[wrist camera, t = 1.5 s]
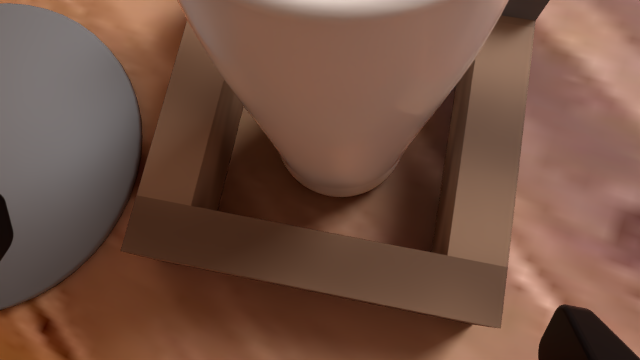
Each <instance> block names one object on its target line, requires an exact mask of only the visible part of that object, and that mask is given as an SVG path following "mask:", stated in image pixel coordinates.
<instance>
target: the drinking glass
mask: <svg viewBox="0 0 640 360" xmlns="http://www.w3.org/2000/svg"><path fill="white" fill-rule="evenodd" d="M177 1H178V3H179V5H180V7H181V9H182V11H183V13H184V15H185V17H186V19H187V21H188V23H189V24H190V26H191V28H192V30H193V32H194V33H195V35H196V37H197V39H198V40H199V42H200V44H201V45H202V47H203V49H204V50H205V52H206V54H207V55H208V57H209V58H210V60H211V62H212V63H213V65H214V66H215V68H216V69H217V71H218V72H219V74H220V75H221V77H222V78H223V79H224V81H225V82H226V83H227V85H228V86H229V88H230V89H231V90H232V92H233V93H234V94H235V95H236V97H237V98H238V99H239V101H240V102H241V103H242V105H243V106H244V107H245V109H246V110H247V111H248V112H249V114H250V115H251V116H252V118H253V119H254V120H255V122H256V123H257V124H258V125H259V127H260V128H261V129H262V131H263V132H264V133H265V135H266V136H267V137H268V139H269V140H270V142H271V143H272V144H273V146H274V147H275V148H276V150H277V151H278V153H279V154H280V157H281V159H282V161H283V163H284V165H285V166H286V168H287V170H288V171H289V172H290V174H291V175H292V176H293V177H294V178H295V179H296V180H297V181H298V182H299V183H301V184H302V185H304V186H305V187H307V188H308V189H310V190H312V191H314V192H317V193H319V194H322V195H327V196H332V197H349V196H355V195H359V194H362V193H365V192H367V191H369V190H372V189H373V188H375V187H377V186H378V185H380V184H381V183H382V182H383V181H385V180H386V179H387V178H388V177H389V176H390V174H391V173H392V172H393V171H394V169H395V168H396V166H397V165H398V163H399V161H400V159H401V156H402V154H403V153H404V151H405V150H406V149H407V147H408V146H409V145H410V144H411V142H412V141H413V140H414V138H415V137H416V136H417V135H418V133H419V132H420V131H421V129H422V128H423V127H424V126H425V124H426V123H427V122H428V121H429V119H430V118H431V117H432V116H433V114H434V113H435V112H436V111H437V109H438V108H439V107H440V105H441V104H442V103H443V102H444V100H445V99H446V98H447V97H448V95H449V94H450V93H451V91H452V90H453V89H454V88H455V86H456V85H457V84H458V82H459V81H460V80H461V78H462V77H463V75H464V74H465V73H466V71H467V70H468V68H469V67H470V66H471V64H472V63H473V61H474V60H475V58H476V57H477V55H478V54H479V52H480V51H481V49H482V47H483V46H484V44H485V42H486V41H487V39H488V37H489V36H490V34H491V32H492V31H493V29H494V27H495V25H496V24H497V22H498V20H499V18H500V17H501V15H502V13H503V11H504V9H505V7H506V6H507V4H508V2H509V0H177Z"/></svg>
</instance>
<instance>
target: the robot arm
mask: <svg viewBox="0 0 640 360" xmlns="http://www.w3.org/2000/svg"><path fill="white" fill-rule="evenodd" d="M13 236H14V232H13V227H12V224H11V220H10V216H9V212H8V209H7V205H6V201H5V199H4V197H3V196H2V195H1V194H0V261H1V260H2V258H3V257H4V255H5V254H6V252H7V251H8V249H9V248H10V246H11V244H12V241H13ZM538 359H539V360H640V358H639V357H638V356H637V355H636V354H635V353H634V352H633V351H632V350H631V349H630V348H629V347H628V346H627V345H626V344H625V343H624V342H623V341H622V340H621V339H620V338H619V337H618V336H616V335H615V334H614V333H613V332H612V331H611V330H610V329H609V328H608V327H607V326H606V325H605V324H604V323H603V322H602V321H601V320H600V319H599V318H598V317H597V316H596V315H595V314H594V313H593V312H592V311H590V310H589V309H586V308H581V307H576V306H571V305H561V306H559V307H558V308H557V309H556V311H555V313H554V315H553V317H552V319H551V321H550V323H549V325H548V326H547V328H546V330H545V332H544V334H543V336H542V338H541V341H540V344H539V350H538Z"/></svg>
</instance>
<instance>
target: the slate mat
mask: <svg viewBox="0 0 640 360" xmlns="http://www.w3.org/2000/svg"><path fill="white" fill-rule="evenodd" d="M141 148H142V125H141V115H140V110H139V106H138V101H137V97H136V95H135V92H134V89H133V87H132V84H131V81H130V79H129V78H128V76H127V74H126V72H125V70H124V69H123V67H122V65H121V64H120V63H119V61H118V60H117V59H116V57H115V56H114V55H113V53H112V52H111V51H110V50H109V49H108V48H107V46H106V45H104V44H103V43H102V42H101V41H100V40H99V39H98V38H97V37H96V36H95V35H94V34H93V33H92V32H90V31H89V30H87V29H86V28H85V27H83V26H82V25H80V24H79V23H77V22H75V21H73V20H71V19H70V18H68V17H66V16H64V15H61V14H59V13H56V12H53V11H50V10H47V9H44V8H39V7H35V6H30V5H22V4H10V3H5V4H0V194H1V195H2V196H3V197H4V199H5V201H6V205H7V209H8V212H9V216H10V220H11V224H12V227H13V232H14V236H13V241H12V244H11V246H10V248H9V249H8V251H7V252H6V254H5V255H4V257H3V258H2V260H1V261H0V310H2V309H6V308H9V307H13V306H16V305H18V304H21V303H23V302H25V301H28V300H30V299H32V298H35V297H37V296H39V295H40V294H42V293H44V292H46V291H47V290H49V289H51V288H52V287H54V286H56V285H58V284H59V283H60V282H61V281H63V280H64V279H65V278H67V277H68V276H69V275H71V274H72V273H73V272H75V271H76V270H77V269H78V268H79V267H80V266H81V265H82V264H83V263H85V262H86V261H87V260H88V259H89V258H90V257H91V256H92V255H93V254H94V253H95V251H96V250H97V249H98V248H99V247H100V245H101V244H102V243H103V242H104V241H105V239H106V238H107V237H108V235H109V234H110V232H111V231H112V229H113V228H114V226H115V225H116V223H117V222H118V220H119V218H120V217H121V215H122V213H123V210H124V208H125V206H126V204H127V202H128V200H129V198H130V195H131V193H132V190H133V187H134V184H135V181H136V178H137V173H138V169H139V164H140V159H141Z"/></svg>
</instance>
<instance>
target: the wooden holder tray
mask: <svg viewBox="0 0 640 360" xmlns="http://www.w3.org/2000/svg"><path fill="white" fill-rule="evenodd" d="M548 2H549V0H509V2H508V4H507V6H506V7H505V9H504V11H503V13H502V15H501V17H500V18H499V20H498V22H497V24H496V25H495V27H494V29H493V31H492V32H491V34H490V36H489V37H488V39H487V41H486V42H485V44H484V46H483V47H482V49H481V51H480V52H479V54H478V55H477V57H476V58H475V60H474V61H473V63H472V64H471V66H470V67H469V68H468V70H467V71H466V73H465V74H464V75H463V77H462V78H461V80H460V81H459V82H458V84H457V85H456V89H455V96H454V103H453V109H452V116H451V123H450V130H449V136H448V143H447V150H446V157H445V163H444V170H443V177H442V184H441V190H440V197H439V204H438V211H437V217H436V224H435V231H434V237H433V244H432V251H431V252H427V251H421V250H416V249H411V248H406V247H401V246H396V245H391V244H385V243H380V242H375V241H370V240H365V239H360V238H354V237H349V236H344V235H339V234H334V233H329V232H323V231H318V230H313V229H308V228H303V227H298V226H293V225H287V224H282V223H277V222H272V221H267V220H262V219H256V218H251V217H246V216H241V215H236V214H231V213H225V212H220V211H217V210H218V206H219V202H220V198H221V194H222V190H223V186H224V182H225V178H226V174H227V170H228V166H229V162H230V158H231V154H232V150H233V146H234V142H235V138H236V134H237V130H238V126H239V122H240V118H241V114H242V110H243V105H242V103H241V102H240V101H239V99H238V98H237V97H236V95H235V94H234V93H233V92H232V90H231V89H230V88H229V86H228V85H227V83H226V82H225V81H224V79H223V78H222V77H221V75H220V74H219V72H218V71H217V69H216V68H215V66H214V65H213V63H212V62H211V60H210V58H209V57H208V55H207V54H206V52H205V50H204V49H203V47H202V45H201V44H200V42H199V40H198V39H197V37H196V35H195V33H194V32H193V30H192V28H191V26H190V24H189V23H188V21H187V23H186V26H185V30H184V33H183V36H182V40H181V43H180V47H179V50H178V54H177V57H176V61H175V64H174V68H173V71H172V74H171V78H170V81H169V85H168V88H167V92H166V95H165V99H164V102H163V106H162V109H161V112H160V116H159V119H158V123H157V126H156V130H155V133H154V137H153V140H152V144H151V147H150V150H149V154H148V157H147V161H146V164H145V168H144V171H143V175H142V178H141V182H140V185H139V188H138V192H137V195H136V199H135V202H134V206H133V209H132V213H131V216H130V220H129V223H128V227H127V230H126V233H125V237H124V240H123V244H122V247H121V251H123V252H127V253H131V254H135V255H139V256H143V257H147V258H151V259H155V260H160V261H165V262H170V263H175V264H179V265H184V266H189V267H194V268H199V269H204V270H209V271H214V272H219V273H224V274H228V275H233V276H238V277H243V278H248V279H253V280H258V281H263V282H268V283H272V284H277V285H282V286H287V287H292V288H297V289H302V290H307V291H312V292H317V293H321V294H326V295H331V296H336V297H341V298H346V299H351V300H356V301H361V302H366V303H370V304H375V305H380V306H385V307H390V308H395V309H400V310H405V311H410V312H414V313H419V314H424V315H429V316H434V317H439V318H444V319H449V320H454V321H459V322H463V323H468V324H473V325H480V326H487V327H494V328H501V322H502V313H503V304H504V295H505V286H506V278H507V269H508V260H509V251H510V242H511V233H512V224H513V216H514V207H515V198H516V189H517V180H518V171H519V162H520V154H521V145H522V136H523V127H524V118H525V109H526V100H527V92H528V83H529V74H530V65H531V56H532V47H533V38H534V30H535V21H536V19H537V18H538V16H539V15H540V13H541V12H542V10H543V9H544V8H545V6H546V5H547V3H548Z"/></svg>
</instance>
